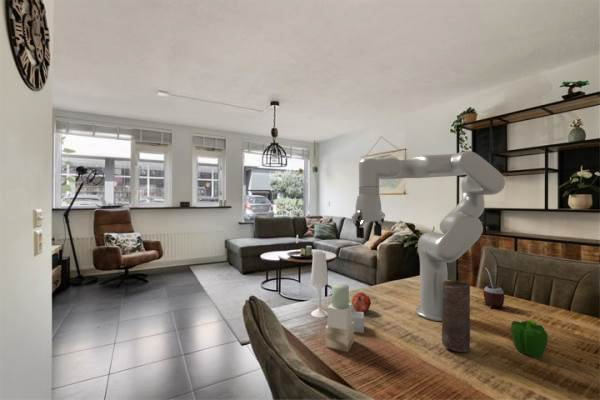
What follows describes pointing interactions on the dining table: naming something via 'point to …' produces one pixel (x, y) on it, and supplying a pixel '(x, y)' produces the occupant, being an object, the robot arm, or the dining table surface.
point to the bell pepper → (529, 337)
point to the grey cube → (358, 321)
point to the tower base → (339, 338)
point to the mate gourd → (493, 295)
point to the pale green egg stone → (340, 296)
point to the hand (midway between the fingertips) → (369, 236)
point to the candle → (456, 315)
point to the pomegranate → (361, 302)
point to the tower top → (339, 317)
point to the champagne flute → (319, 278)
